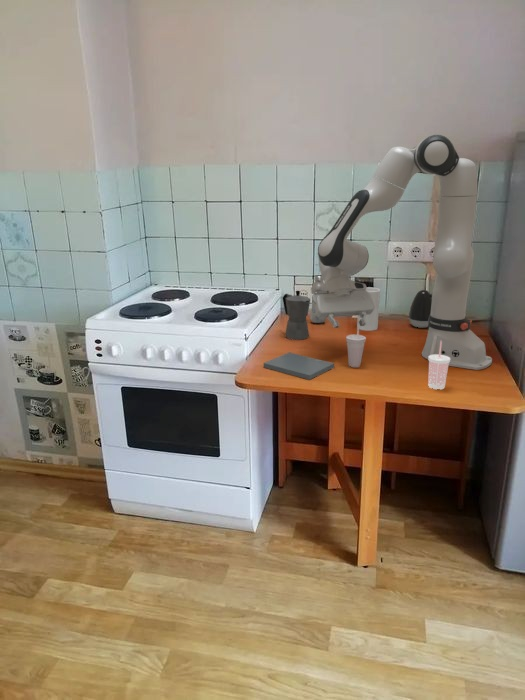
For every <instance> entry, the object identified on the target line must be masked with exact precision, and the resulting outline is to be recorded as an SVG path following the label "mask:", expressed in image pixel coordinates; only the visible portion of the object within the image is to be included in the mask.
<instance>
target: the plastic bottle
mask: <svg viewBox="0 0 525 700" xmlns="http://www.w3.org/2000/svg"><path fill="white" fill-rule="evenodd" d="M310 288H311V289H310V291H311V296H312V295H313V294H314V293H315V292H323V291H326V289H325V282H324V279H323V278H322V275H321V274H315V275H314V283H313V284H312V286H311V287H310ZM309 318H310V321H311V323H314V324H323V323H325V321H326V319H327V318H318V317H317V316H316V313H315V304H314V302H313V300H312V299H311V312H310V317H309Z"/></svg>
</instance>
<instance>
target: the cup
mask: <svg viewBox="0 0 525 700" xmlns="http://www.w3.org/2000/svg"><path fill="white" fill-rule="evenodd" d="M365 291H367V292H369V294H370V295H371V297H372V300H373V303H374V306H375V308H374V310H373V312H372V313H371V314H369V315H366V317H365V322H366V324H365V326H360V324H359V321H360V320H361V319H362V317H360V315H357V319H356V321H357V322H356V324H357V325H356V327H357V326H358V324H359V331H364V332H365V331H368V332H371V331H373V332H374V331H377V330H378V327H379V325H378V324H379V313H380V311H379V310H380V297H381V296H380V294H381V289H380V288H377V287H371V286H368V287H367V286H366V290H365Z"/></svg>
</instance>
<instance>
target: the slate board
mask: <svg viewBox="0 0 525 700" xmlns="http://www.w3.org/2000/svg"><path fill="white" fill-rule="evenodd" d="M263 368H265V369H268V370H271V371H275V372H279V373H283V374H287V375H290V376H293V377H298V378H301V379H304V380H308V381H310V380H312V379H314V377H315V378H316V376H317V377H319V376H321V375H323V374H324V372H325V373H326V371H327V372H329V371H331V370H332V368H333V369H335V362H330V361H326V360H322V359H317V358H313V357H309V356H305V355H303V354H297V353H293V352H287V353H285V354H282V355H280V356H277V357H275V358H271V359H269V360H268V361H265V362H263ZM330 369H331V370H330ZM328 370H329V371H328ZM322 373H323V374H322ZM320 374H321V375H320ZM318 375H319V376H318Z"/></svg>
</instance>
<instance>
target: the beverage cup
mask: <svg viewBox="0 0 525 700" xmlns="http://www.w3.org/2000/svg"><path fill="white" fill-rule="evenodd" d="M441 346H442V341H440V348H439V355H438V354H434V355H430V356H428V359H427V360H428V384H427V386H429V387H428V388H430V389H432V388H433V389H432V390H437V389H440V390H443V389H445V388H446V387H445V386H446V382H447V376H448V370H449V367H450V366H449V362H450V357H448V356H445V355H441Z"/></svg>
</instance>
